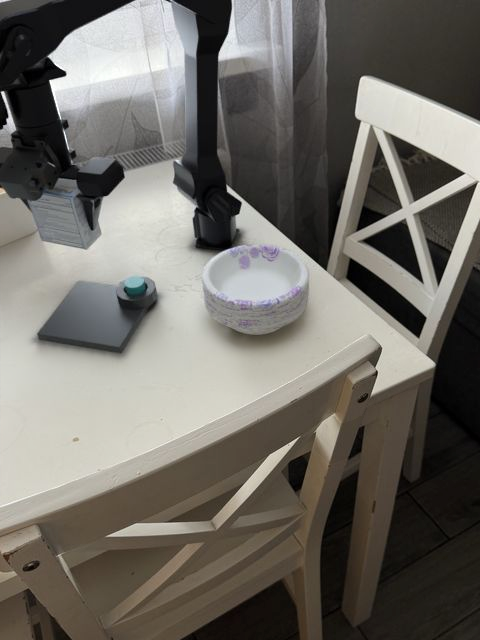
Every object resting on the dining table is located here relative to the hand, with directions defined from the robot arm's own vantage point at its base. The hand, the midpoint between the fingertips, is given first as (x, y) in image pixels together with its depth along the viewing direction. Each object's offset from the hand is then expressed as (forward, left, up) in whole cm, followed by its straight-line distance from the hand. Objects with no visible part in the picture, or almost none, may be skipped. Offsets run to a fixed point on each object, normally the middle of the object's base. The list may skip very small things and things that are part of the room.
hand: (68, 225), depth 86 cm
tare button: (-9, +1, -9) cm, 13 cm away
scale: (-5, +5, -12) cm, 14 cm away
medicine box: (0, 0, -2) cm, 2 cm away
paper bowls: (-28, -1, -12) cm, 30 cm away
